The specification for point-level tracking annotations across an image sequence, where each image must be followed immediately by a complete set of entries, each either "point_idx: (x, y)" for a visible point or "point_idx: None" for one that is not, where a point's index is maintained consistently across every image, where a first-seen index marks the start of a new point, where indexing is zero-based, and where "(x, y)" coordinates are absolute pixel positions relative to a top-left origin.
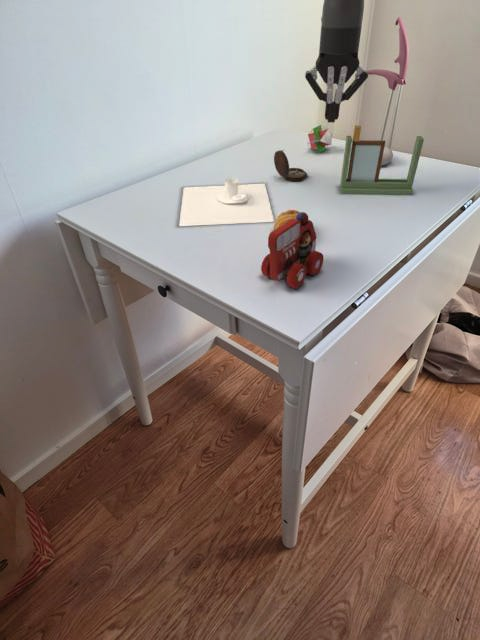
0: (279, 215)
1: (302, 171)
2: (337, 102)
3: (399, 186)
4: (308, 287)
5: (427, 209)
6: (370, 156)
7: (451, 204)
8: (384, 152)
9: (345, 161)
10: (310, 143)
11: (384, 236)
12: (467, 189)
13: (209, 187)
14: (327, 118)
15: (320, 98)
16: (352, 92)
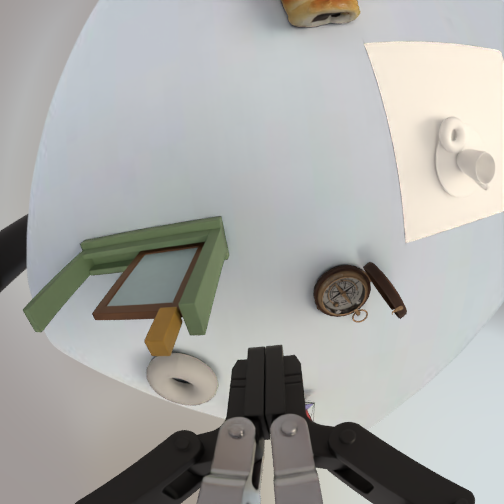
0: (355, 4)
1: (324, 305)
2: (239, 421)
3: (98, 249)
4: None
5: (54, 181)
6: (138, 286)
7: (32, 214)
8: (157, 376)
9: (206, 261)
10: (306, 410)
11: (115, 37)
12: (31, 276)
13: (493, 209)
14: (286, 359)
15: (350, 430)
16: (153, 461)
